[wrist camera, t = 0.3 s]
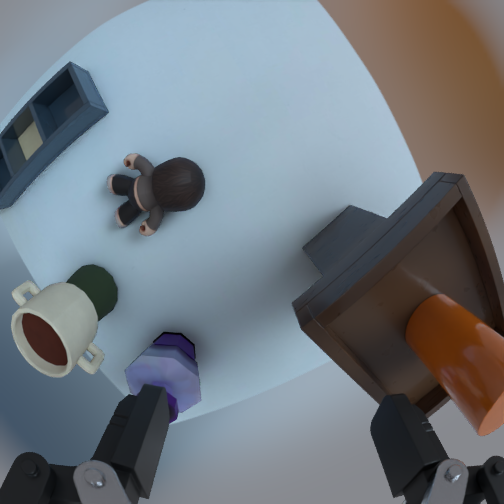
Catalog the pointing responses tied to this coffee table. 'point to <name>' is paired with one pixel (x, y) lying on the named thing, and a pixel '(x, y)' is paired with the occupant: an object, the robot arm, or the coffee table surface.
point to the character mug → (63, 321)
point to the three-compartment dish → (46, 128)
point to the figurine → (156, 190)
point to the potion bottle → (168, 371)
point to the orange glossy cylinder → (461, 358)
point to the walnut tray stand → (399, 285)
